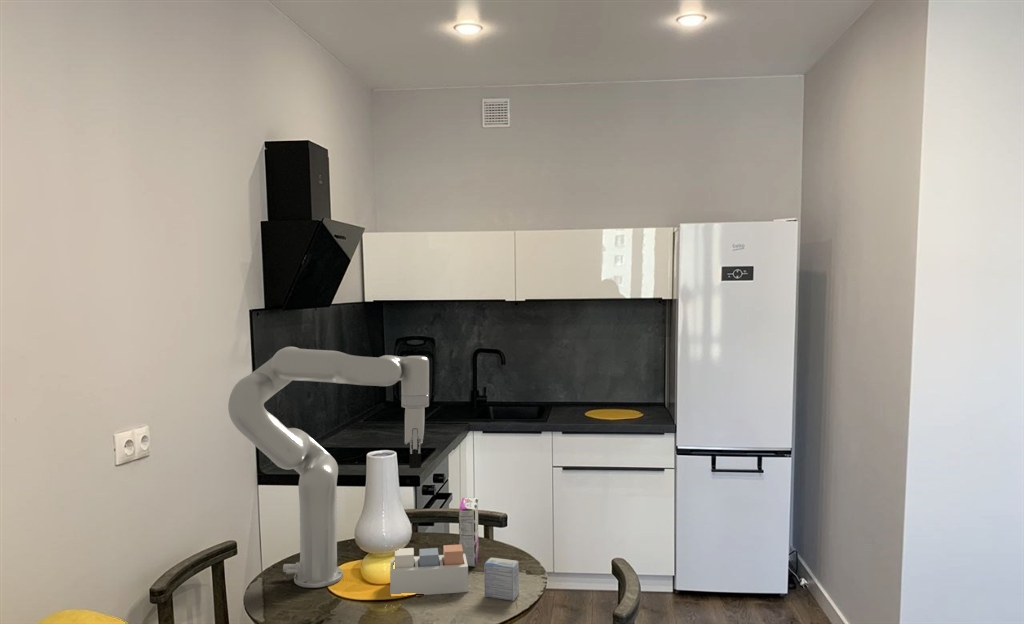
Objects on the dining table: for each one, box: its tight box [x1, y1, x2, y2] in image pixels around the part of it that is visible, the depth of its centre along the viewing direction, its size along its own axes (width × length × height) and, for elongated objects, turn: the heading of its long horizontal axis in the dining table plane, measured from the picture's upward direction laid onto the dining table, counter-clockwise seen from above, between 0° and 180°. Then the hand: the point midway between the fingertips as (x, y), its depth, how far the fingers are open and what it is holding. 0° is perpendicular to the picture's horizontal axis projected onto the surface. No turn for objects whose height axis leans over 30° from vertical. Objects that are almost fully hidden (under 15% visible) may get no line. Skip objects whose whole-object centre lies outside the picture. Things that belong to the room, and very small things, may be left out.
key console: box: [389, 554, 469, 596], centre depth 172 cm, size 20×9×6 cm, turn 99°
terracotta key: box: [442, 543, 463, 566], centre depth 173 cm, size 5×5×6 cm
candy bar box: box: [458, 497, 480, 568], centre depth 191 cm, size 11×5×16 cm, turn 179°
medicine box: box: [483, 556, 520, 602], centre depth 167 cm, size 8×4×9 cm, turn 71°
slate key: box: [418, 547, 440, 567], centre depth 172 cm, size 5×5×6 cm
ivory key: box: [394, 547, 415, 568], centre depth 171 cm, size 5×5×6 cm
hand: (415, 467), depth 182 cm, fingers closed
